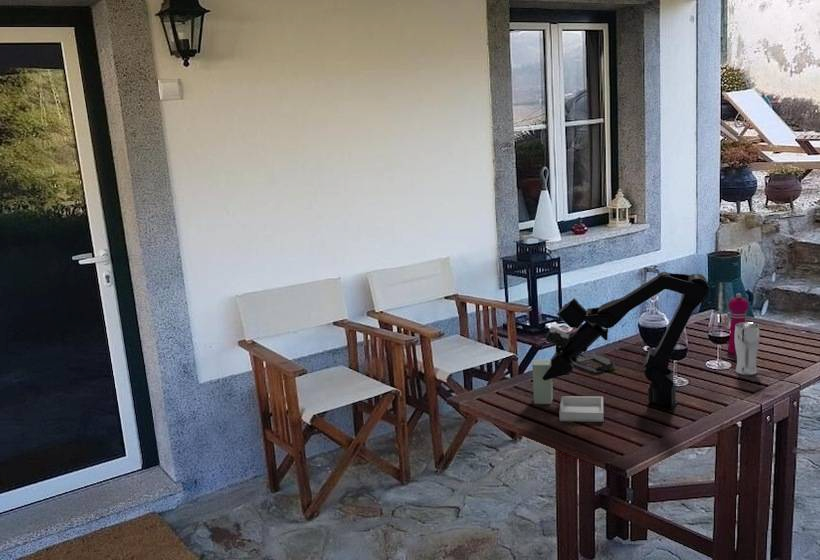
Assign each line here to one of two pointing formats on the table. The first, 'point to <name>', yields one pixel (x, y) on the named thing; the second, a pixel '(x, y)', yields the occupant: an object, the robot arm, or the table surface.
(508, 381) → the table surface
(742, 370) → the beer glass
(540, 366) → the handle block
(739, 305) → the pepper mill
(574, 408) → the tray
